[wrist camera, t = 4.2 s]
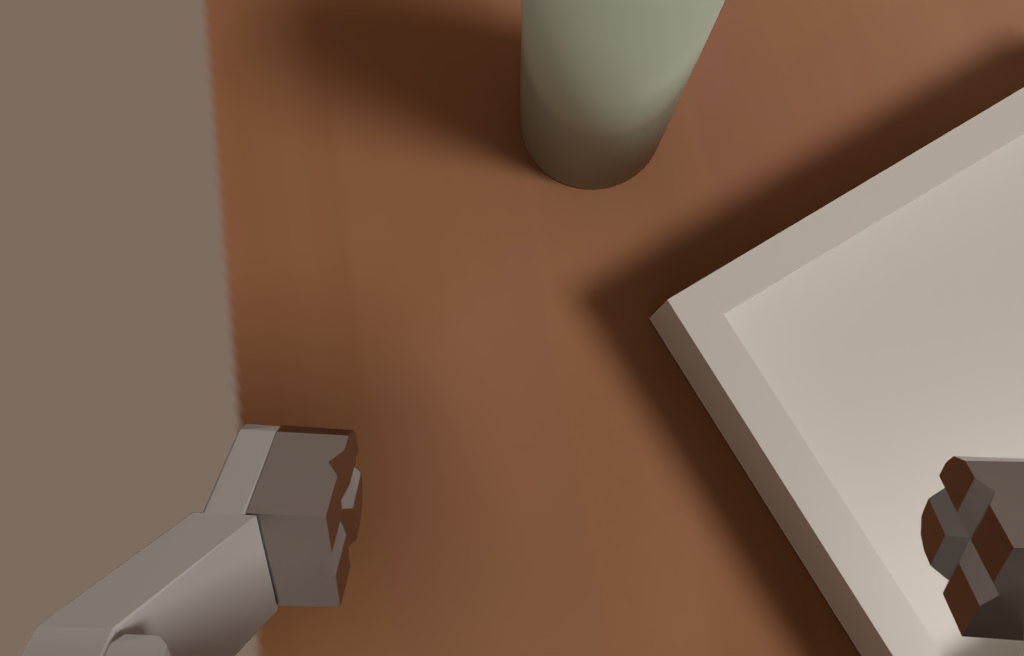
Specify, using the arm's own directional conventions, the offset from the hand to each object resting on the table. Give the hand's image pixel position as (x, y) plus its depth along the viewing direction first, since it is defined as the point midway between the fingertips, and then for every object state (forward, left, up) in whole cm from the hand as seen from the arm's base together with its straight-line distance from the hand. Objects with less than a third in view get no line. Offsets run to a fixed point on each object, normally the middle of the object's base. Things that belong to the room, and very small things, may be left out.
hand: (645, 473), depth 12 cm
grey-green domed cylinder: (+7, +10, -16) cm, 20 cm away
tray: (+14, -5, -16) cm, 22 cm away
